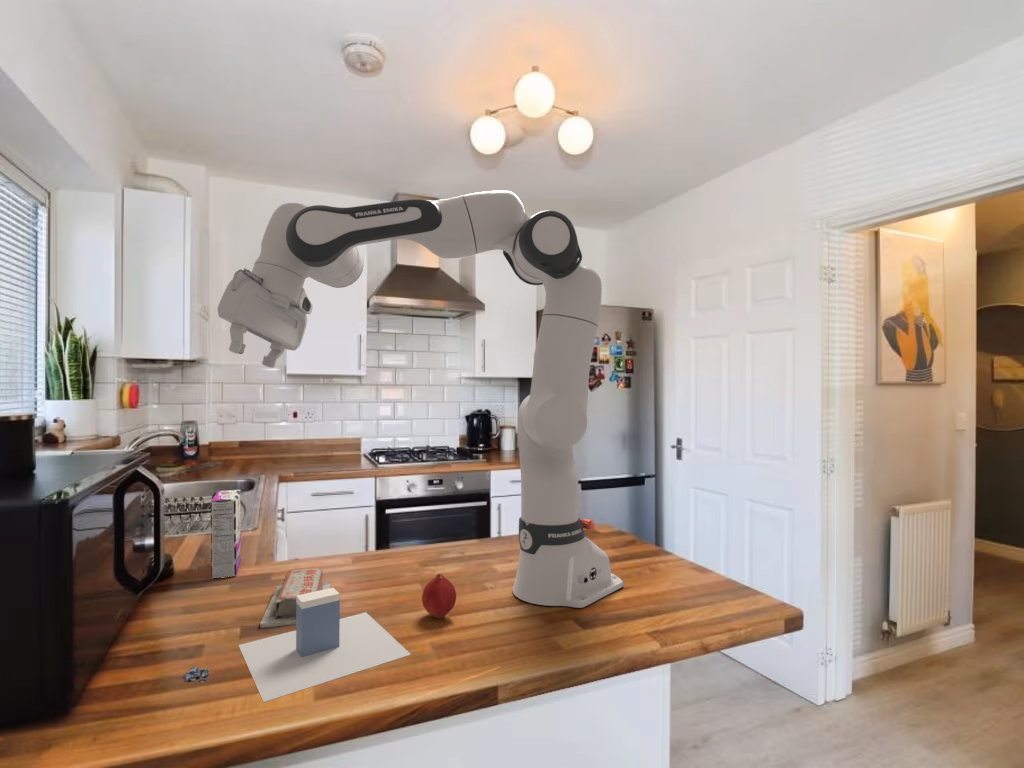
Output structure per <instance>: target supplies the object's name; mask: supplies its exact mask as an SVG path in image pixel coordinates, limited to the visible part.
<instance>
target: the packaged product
mask: <svg viewBox="0 0 1024 768" xmlns="http://www.w3.org/2000/svg"><path fill="white" fill-rule="evenodd" d="M331 584H332V582H331V581H330V580H329V581H323V570H322V568H319V567H316V566H312V567H303V568H302V567H300V568H293V569H289V570H288V572H287V573H286V574H285V576H284V579H283V583H279V584H277V586H276V588H275V590H274V592H273V595H272V597H271V599H270V601H269V603H268V606H267V608H266V610H265V612H264V614H263V615H262V619H261V621H260V622H259V625H260V628H261V629H262V628H263V629H264V628H275V627H281V626H282V627H283V626H292V625H293V626H294V625H296V596H297V595H302V594H306V593H311V592H315V591H320V590H324V589H329V588H331Z"/></svg>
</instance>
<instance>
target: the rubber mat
mask: <svg viewBox="0 0 1024 768" xmlns="http://www.w3.org/2000/svg"><path fill="white" fill-rule="evenodd" d="M238 647H239V650H240V652H241V654H242V657H243V660H244V661H245V663H246V665H247V668H248V671H249V673H250V675H251V677H252V680H253V682H254V684H255V686H256V688H257V691H258V693H259V696H260V697H261V700H262V702H263V703H267V702H269V701H272V700H275V699H278V698H281V697H285V696H288V695H291V694H294V693H298V692H300V691H303V690H306V689H310V688H312V687H315V686H318V685H322V684H324V683H328V682H332V681H334V680H337V679H340V678H343V677H347V676H350V675H353V674H355V673H359V672H362V671H365V670H369V669H371V668H374V667H377V666H380V665H383V664H386V663H389V662H392V661H396V660H399V659H401V658H406V657H408V656H411V654H412V653H410V652H409V651H408V650H407V649H406V648H405V647H404V646H403V645H402V644H401V643H400V642H398V641H397V639H395V637H393V636H392V635H391V634H390V633H389V632H388V631H387V630H386V629H385V628H384V627H382V626H381V624H379V623H378V622H377V621H376V620H375V619H374V618H373V617H372V616H371V615H370V614H368V613H367V611H365V612H362V613H361V612H360V613H358V614H354V615H351V616H347V617H342V618H340V630H339V647H336V648H333V649H329V650H326V651H323V652H319V653H316V654H312V655H309V656H305V657H301V656H300V654H299V653H298V651H297V650H296V629H295V630H293V631H292V630H291V631H288V632H284V633H281V634H276V635H272V636H268V637H265V638H260V639H257V640H254V641H249V642H246V643H242V644H239V645H238Z"/></svg>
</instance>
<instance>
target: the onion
mask: <svg viewBox="0 0 1024 768" xmlns="http://www.w3.org/2000/svg"><path fill="white" fill-rule="evenodd" d="M456 601H457V592H456V588H455V587H454V585H453V583H452V582H451V581H450V580H449V579H448V578H446V577H445V576H444V575H443V573H442V572H438V573H436V575H435V576H434V577H433V578H431V580H430V581H428V582H427V584H426V585H425V586H424V588H423V591H422V595H421V603H422V606H423V608H424V609H425V611H426V612H427V613H428V614H430V615H431V616H432V617H433V618H435V619H438V620H439V619H443V618H444V617H445V616H447V614H449V613H450V612H451V611H452V610H453V608H455V604H456Z"/></svg>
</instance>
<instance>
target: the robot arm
mask: <svg viewBox="0 0 1024 768" xmlns="http://www.w3.org/2000/svg"><path fill="white" fill-rule="evenodd" d="M576 232H577V231H576V229H575V227H574V225H573V223H572V221H571V220H570V218H568V217H567V216H566V215H565V214H563V213H561V212H559V211H556V210H543V211H540V212H537V213H535V214H533V215H531V216H530V217H528V215H527V214H526V211H525V207H524V205H523V203H522V201H521V200H520V198H519V197H518V196H517V195H516V194H515V193H514V192H512V191H510V190H491V191H490V190H488V191H481V192H480V191H479V192H474V193H473V192H472V193H468V194H464V195H463V194H462V195H458V196H455V197H454V196H453V197H449V198H443V199H420V198H419V199H415V198H414V199H404V200H396V201H390V202H388V201H387V202H381V203H380V202H379V203H375V204H374V203H373V204H366V205H357V206H350V207H338V206H330V205H322V204H320V205H319V204H317V205H309V206H308V205H306V204H305V205H304V204H301V203H297V202H290V203H289V202H286V203H283V204H281V205H279V206H278V207H277V208H276V209H275V210H274V212H273V213H272V215H271V217H270V219H269V220H268V224H267V226H266V228H265V231H264V233H263V236H262V240H261V243H260V254H259V256H258V258H257V259H256V260H255V262H254V263H253V264H254V265H253V267H252V269H251V270H249V269H248V268H242V269H238V270H236V271H235V272H234V274H233V278H232V279H231V280H230V281H229V283H228V284H227V285H226V288H225V289H224V292H223V294H222V296H221V299H220V301H219V304H218V307H217V315H218V318H220V319H223V320H224V321H226V322H228V323H230V328H229V333H230V340H231V342H230V346H229V347H228V350H229V352H232V353H234V354H238V355H243V354H244V352H245V349H246V346H247V345H246V344H245V343H244V334H247V332H249V333H250V334H252V335H254V336H256V337H258V338H260V339H262V340H264V341H266V342H269V344H270V345H269V346H270V347H269V349H270V351H269V352H268V354H267V355H264V356H263V360H262V362H261V364H262V365H263V366H265V367H267V368H271V369H272V368H275V367H276V364H277V360H278V359H279V358H280V357H281V356H282V355H283V353H284V352H285V350H288V351H296V350H297V349H298V348H299V347H300V346H301V344H302V342H303V339H304V335H305V331H306V330H307V326H308V317H307V315H311V314H312V311H313V304H312V302H311V300H310V299H309V297H308V294H307V292H306V290H305V288H304V284H305V281H306V279H307V278H310V279H312V280H315V281H316V282H318V283H321V284H324V285H326V286H328V287H331V288H332V287H333V288H335V289H337V288H338V289H339V288H341V289H342V288H346V287H349V286H351V285H353V284H354V283H355V282H356V281H358V279H359V278H360V277H361V275H362V272H363V271H364V258H363V256H362V253H361V252H360V250H359V247H358V246H363V245H369V244H376V243H382V242H388V241H394V240H408V241H411V242H415V243H417V244H419V245H421V246H423V247H424V248H425V249H427V250H428V251H429V252H430V253H432V254H433V255H435V256H437V257H439V258H442V259H460V258H466V257H469V256H473V255H477V254H481V253H485V252H489V251H497V250H501V251H502V254H503V256H504V258H505V260H506V261H507V262H508V264H509V266H510V267H511V269H512V271H513V272H514V274H515V276H517V278H518V279H519V280H521V281H522V282H523V283H525V284H527V285H529V286H530V285H532V286H542V285H543V288H544V291H545V302H544V307H543V311H542V315H541V319H540V325H539V330H538V335H537V338H536V339H537V340H536V344H535V349H534V353H533V365H532V376H531V384H530V392H529V394H528V395H527V396H526V397H525V398H524V399H523V400H522V402H521V403H520V405H519V408H518V410H517V411H518V412H517V434H518V435H517V436H518V440H517V441H518V454H519V456H518V457H519V466H520V516H519V519H518V540H519V541H518V542H519V555H518V562H517V563H518V564H517V569H516V573H515V579H514V584H513V586H512V590H511V591H512V593H513V595H514V596H515V597H516V598H518V599H519V600H520V601H521V600H522V601H524V602H526V603H529V604H533V605H534V604H535V605H539V606H540V605H541V606H548V607H549V606H551V607H553V606H554V607H560V606H562V607H569V608H570V607H571V608H576V609H579V608H580V609H581V608H582V609H583V608H585V607H587V606H589V605H591V604H593V603H595V602H596V601H599V600H600V599H602V598H604V597H606V596H607V595H609V594H612V593H613V592H615V591H618V590H619V589H621V588H623V586H624V582H623V580H622V579H621V578H620V577H619V576H617V575H616V574H614V573H612V571H611V561H610V559H609V556H608V554H607V553H606V552H605V550H603V549H602V548H600V547H599V546H598V545H597V544H596V543H594V542H592V540H590V539H589V538H588V537H587V536H586V534H585V530H584V529H586V530H588V531H593V530H594V529H595V522H594V520H592V519H588V518H583V519H581V518H579V477H578V473H577V469H576V468H577V467H576V462H575V457H574V448H573V447H574V446H575V445H577V444H578V443H579V442H580V441H581V440H582V439H583V438H584V435H585V434H586V431H587V427H588V418H587V410H588V401H589V399H588V398H589V385H590V384H589V382H590V380H589V379H590V369H591V363H592V362H591V361H592V357H593V351H594V347H595V342H596V337H597V332H598V326H599V321H600V316H601V309H602V307H601V306H602V294H603V293H602V287H603V286H602V280H601V277H600V276H599V274H598V273H597V272H596V271H595V270H593V269H592V268H590V267H588V266H585V265H582V264H581V262H582V261H583V254H582V251H581V248H580V245H579V241H578V236H577V233H576Z"/></svg>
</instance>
